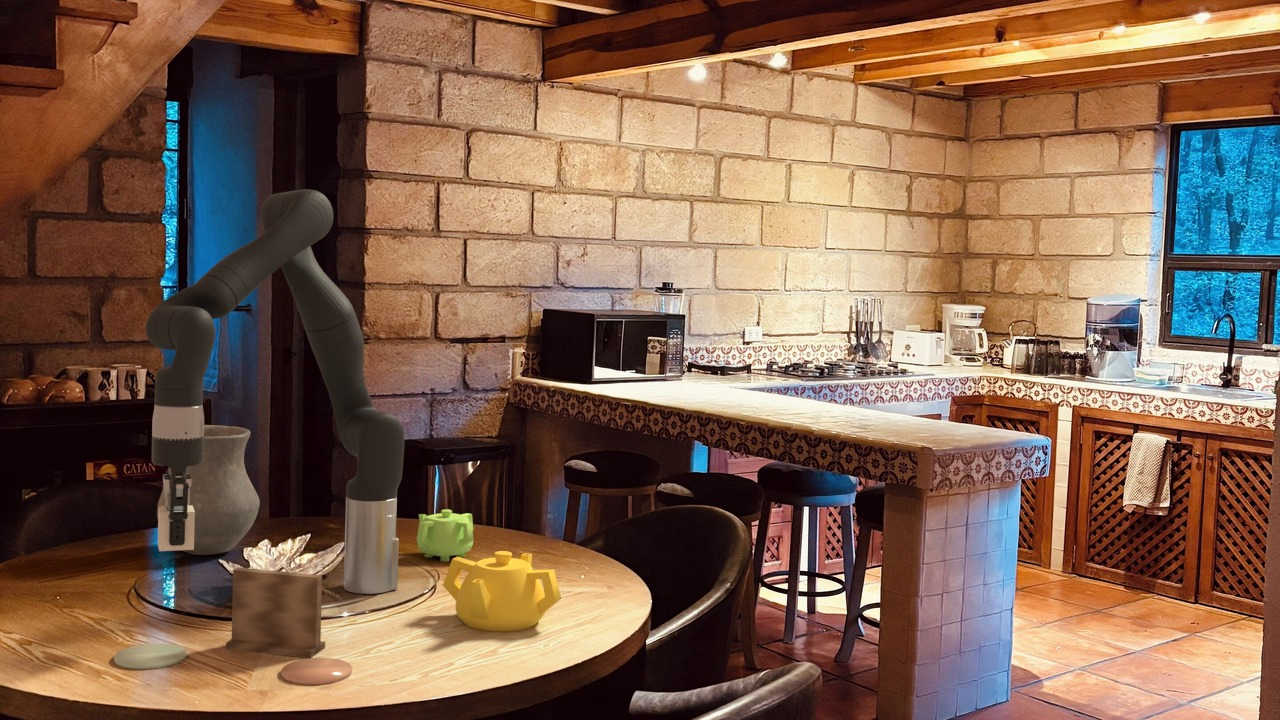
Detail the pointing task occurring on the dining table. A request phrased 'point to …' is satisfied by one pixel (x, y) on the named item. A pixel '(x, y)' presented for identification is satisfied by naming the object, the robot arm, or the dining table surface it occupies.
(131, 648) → the sage coaster
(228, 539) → the vase
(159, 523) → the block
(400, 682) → the dining table surface
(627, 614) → the dining table surface
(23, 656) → the dining table surface
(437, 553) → the teapot
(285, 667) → the terracotta coaster
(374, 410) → the robot arm
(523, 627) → the teapot
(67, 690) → the dining table surface
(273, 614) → the occluder board
